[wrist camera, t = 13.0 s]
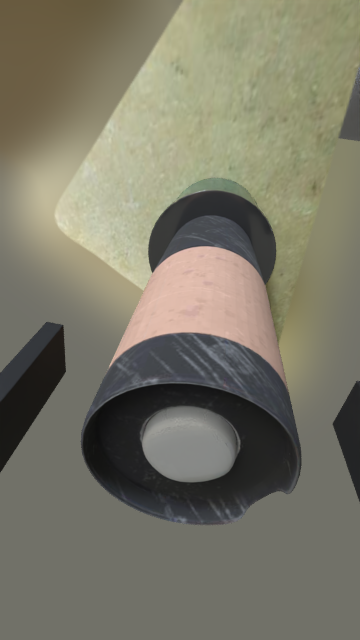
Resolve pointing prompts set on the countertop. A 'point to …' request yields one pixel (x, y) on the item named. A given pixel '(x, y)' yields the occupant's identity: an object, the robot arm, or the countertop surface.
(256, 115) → the countertop surface
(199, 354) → the travel mug
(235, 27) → the countertop surface
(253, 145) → the countertop surface
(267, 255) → the jar
